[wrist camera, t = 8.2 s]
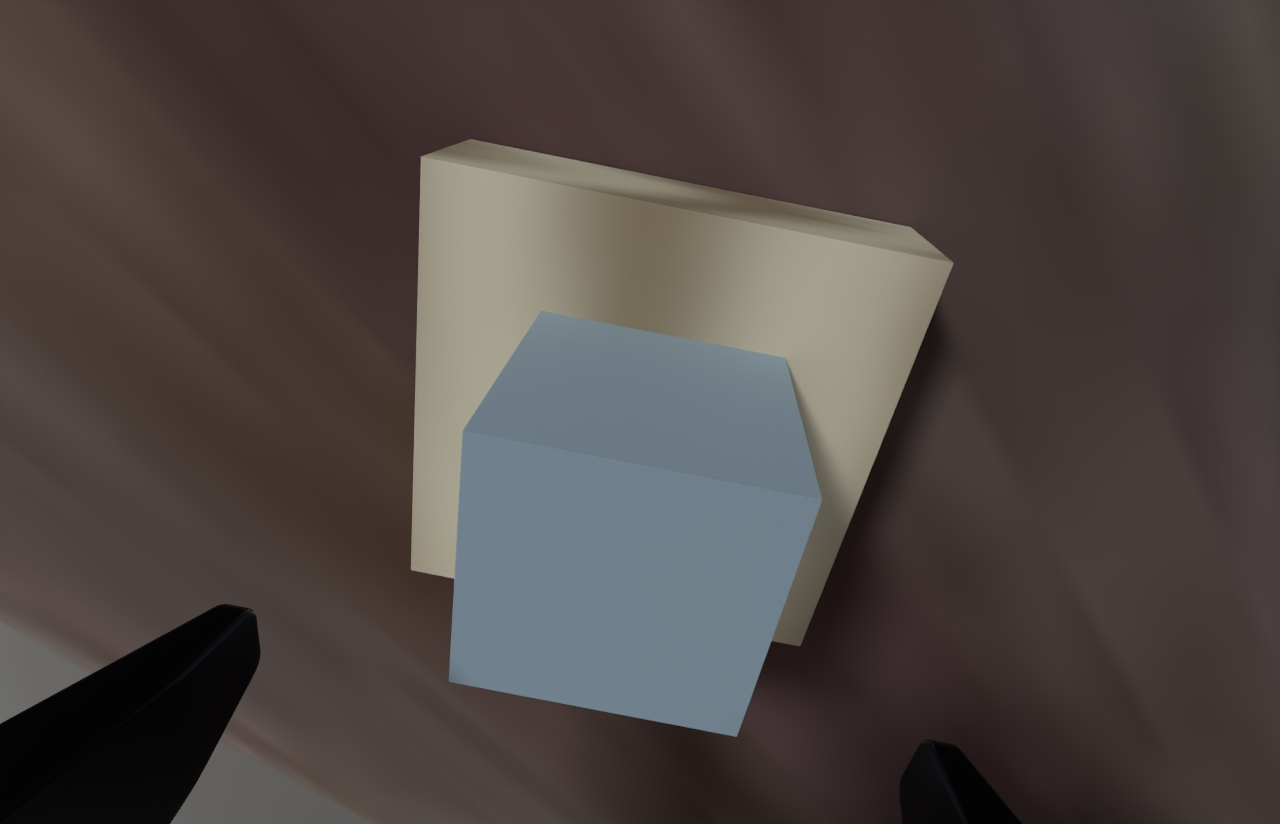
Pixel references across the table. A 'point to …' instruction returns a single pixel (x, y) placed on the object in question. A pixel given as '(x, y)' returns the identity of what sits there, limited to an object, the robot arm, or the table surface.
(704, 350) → the slate block
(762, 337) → the maple base
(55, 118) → the table surface
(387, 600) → the table surface
